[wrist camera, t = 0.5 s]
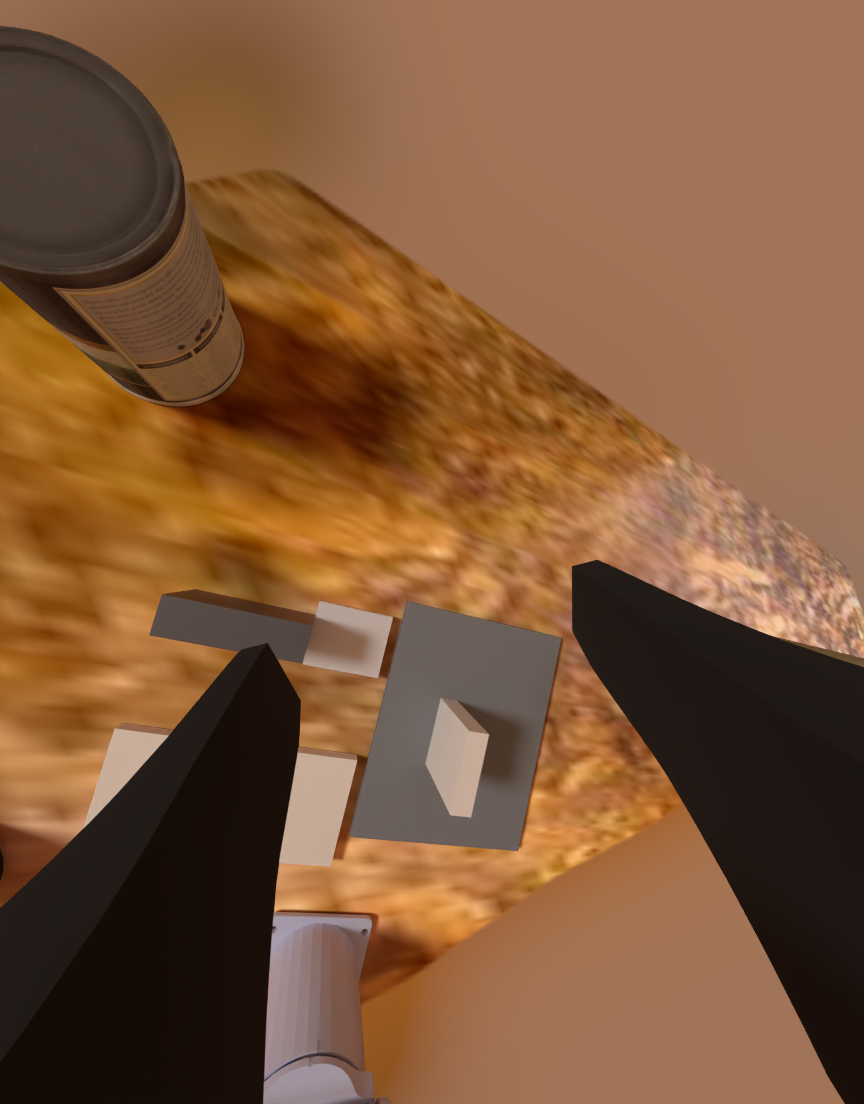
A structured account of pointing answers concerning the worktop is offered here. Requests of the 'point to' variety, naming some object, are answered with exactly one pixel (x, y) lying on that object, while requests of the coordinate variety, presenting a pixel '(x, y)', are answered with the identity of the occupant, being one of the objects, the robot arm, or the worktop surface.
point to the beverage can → (1, 864)
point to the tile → (456, 756)
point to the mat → (489, 697)
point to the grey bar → (278, 630)
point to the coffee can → (107, 225)
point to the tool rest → (311, 801)
